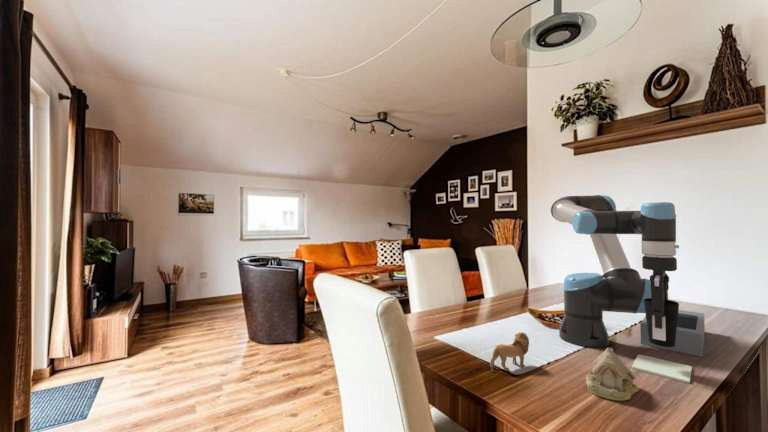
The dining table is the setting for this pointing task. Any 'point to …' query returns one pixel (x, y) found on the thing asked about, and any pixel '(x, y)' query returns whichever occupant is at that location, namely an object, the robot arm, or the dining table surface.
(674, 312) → the cup
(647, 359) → the mat
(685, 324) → the slot box
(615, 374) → the ceramic model
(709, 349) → the dining table surface
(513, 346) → the lion figurine
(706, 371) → the dining table surface
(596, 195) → the robot arm
